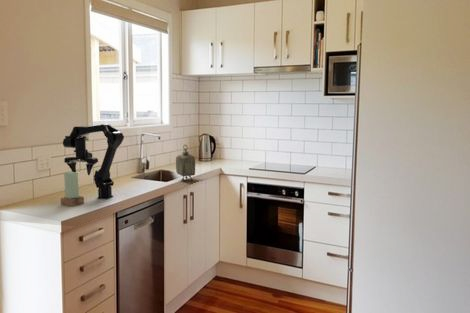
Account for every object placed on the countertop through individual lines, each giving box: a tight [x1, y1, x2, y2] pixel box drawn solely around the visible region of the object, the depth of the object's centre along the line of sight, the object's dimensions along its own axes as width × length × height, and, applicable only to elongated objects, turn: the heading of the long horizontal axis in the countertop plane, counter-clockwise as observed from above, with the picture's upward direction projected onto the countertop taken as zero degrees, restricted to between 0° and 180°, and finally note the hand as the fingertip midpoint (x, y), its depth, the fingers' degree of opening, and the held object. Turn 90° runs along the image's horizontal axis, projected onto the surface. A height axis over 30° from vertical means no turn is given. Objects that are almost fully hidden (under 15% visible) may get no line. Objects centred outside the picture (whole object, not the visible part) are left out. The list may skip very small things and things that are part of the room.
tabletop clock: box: [175, 144, 196, 182], centre depth 274 cm, size 14×9×25 cm, turn 28°
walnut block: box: [60, 195, 85, 208], centre depth 209 cm, size 8×8×4 cm
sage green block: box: [63, 171, 80, 199], centre depth 208 cm, size 5×5×13 cm
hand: (81, 174), depth 229 cm, fingers open, 9 cm apart
